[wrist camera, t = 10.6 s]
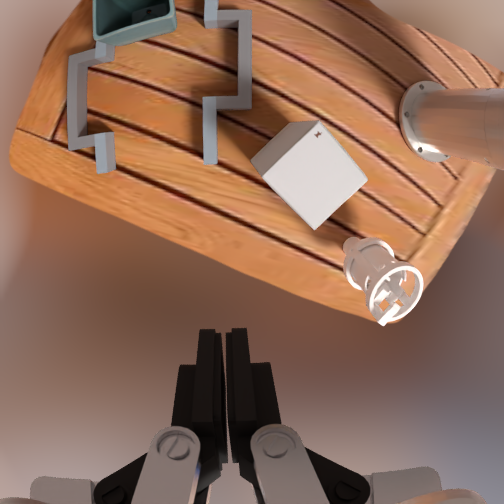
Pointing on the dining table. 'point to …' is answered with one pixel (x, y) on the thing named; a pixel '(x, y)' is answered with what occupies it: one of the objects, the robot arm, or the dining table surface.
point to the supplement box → (309, 170)
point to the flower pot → (132, 20)
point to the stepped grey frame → (210, 104)
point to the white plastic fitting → (380, 277)
